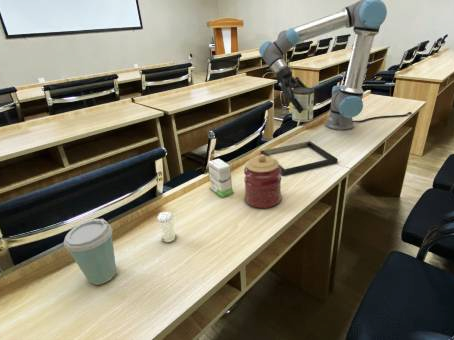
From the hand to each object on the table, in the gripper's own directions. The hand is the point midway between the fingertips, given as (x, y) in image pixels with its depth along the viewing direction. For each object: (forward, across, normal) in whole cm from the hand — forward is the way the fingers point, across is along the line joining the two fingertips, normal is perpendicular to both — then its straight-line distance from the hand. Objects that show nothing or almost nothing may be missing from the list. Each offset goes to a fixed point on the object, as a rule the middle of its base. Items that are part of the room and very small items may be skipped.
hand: (308, 108), depth 146 cm
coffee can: (+2, 0, -6) cm, 6 cm away
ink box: (+12, +57, -14) cm, 60 cm away
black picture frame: (+17, +15, -10) cm, 25 cm away
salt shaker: (+18, +86, -8) cm, 88 cm away
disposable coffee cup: (+17, +105, -10) cm, 107 cm away
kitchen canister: (+24, +51, -3) cm, 56 cm away
